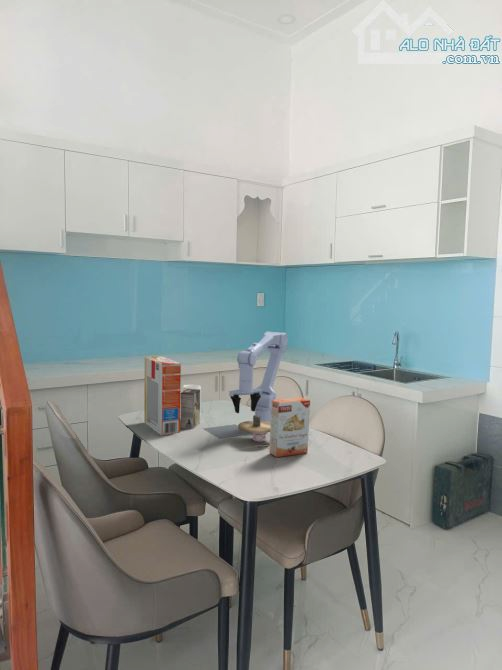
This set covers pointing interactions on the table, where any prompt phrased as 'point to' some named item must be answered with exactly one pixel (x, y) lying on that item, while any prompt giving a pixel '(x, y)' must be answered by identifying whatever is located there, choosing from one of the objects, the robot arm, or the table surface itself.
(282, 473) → the table surface
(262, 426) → the lid
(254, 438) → the teacup
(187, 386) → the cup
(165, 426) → the pasta box
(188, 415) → the coffee box
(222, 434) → the mat
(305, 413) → the cracker box
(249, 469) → the table surface
